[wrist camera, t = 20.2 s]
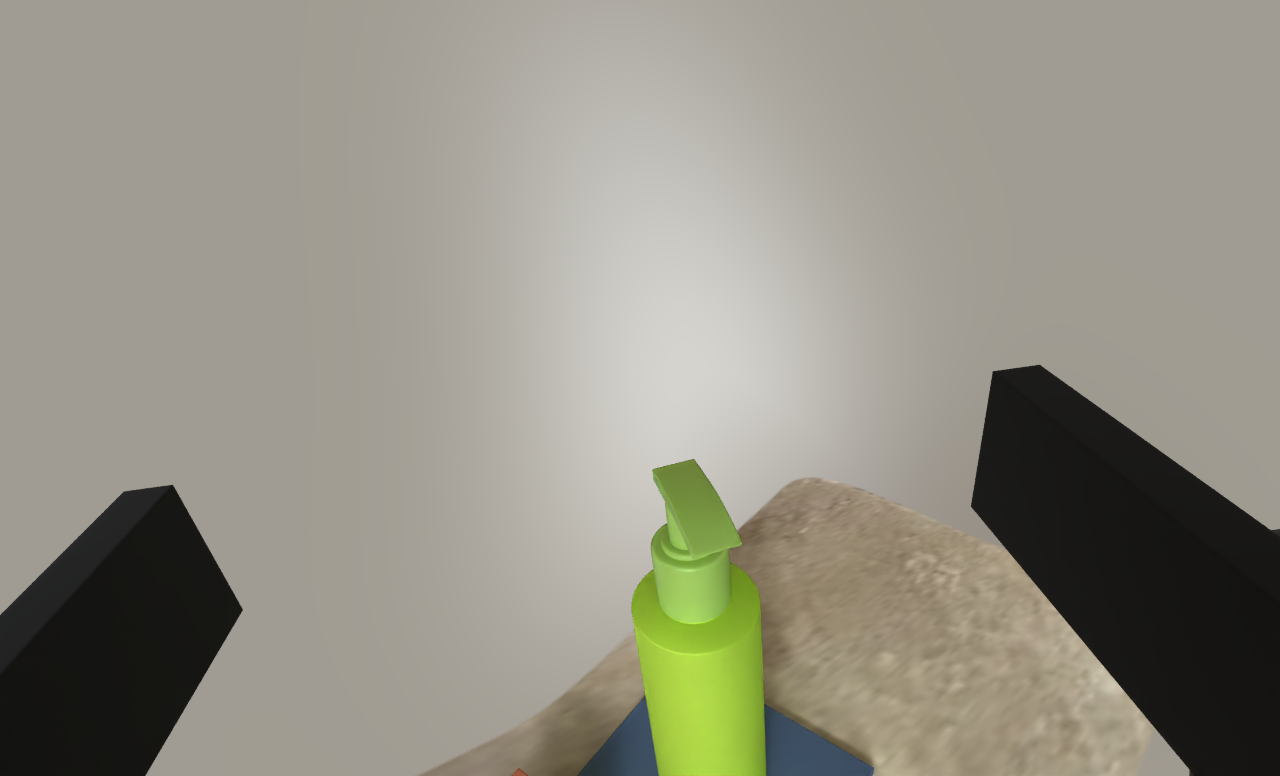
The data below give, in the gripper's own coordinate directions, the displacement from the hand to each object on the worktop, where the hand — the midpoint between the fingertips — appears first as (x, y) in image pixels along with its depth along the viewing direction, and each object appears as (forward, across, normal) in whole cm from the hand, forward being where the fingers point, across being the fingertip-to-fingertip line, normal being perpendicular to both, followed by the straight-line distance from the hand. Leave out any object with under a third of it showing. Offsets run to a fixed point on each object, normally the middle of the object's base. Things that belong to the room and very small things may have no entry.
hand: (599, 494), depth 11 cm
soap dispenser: (+12, +2, -30) cm, 32 cm away
